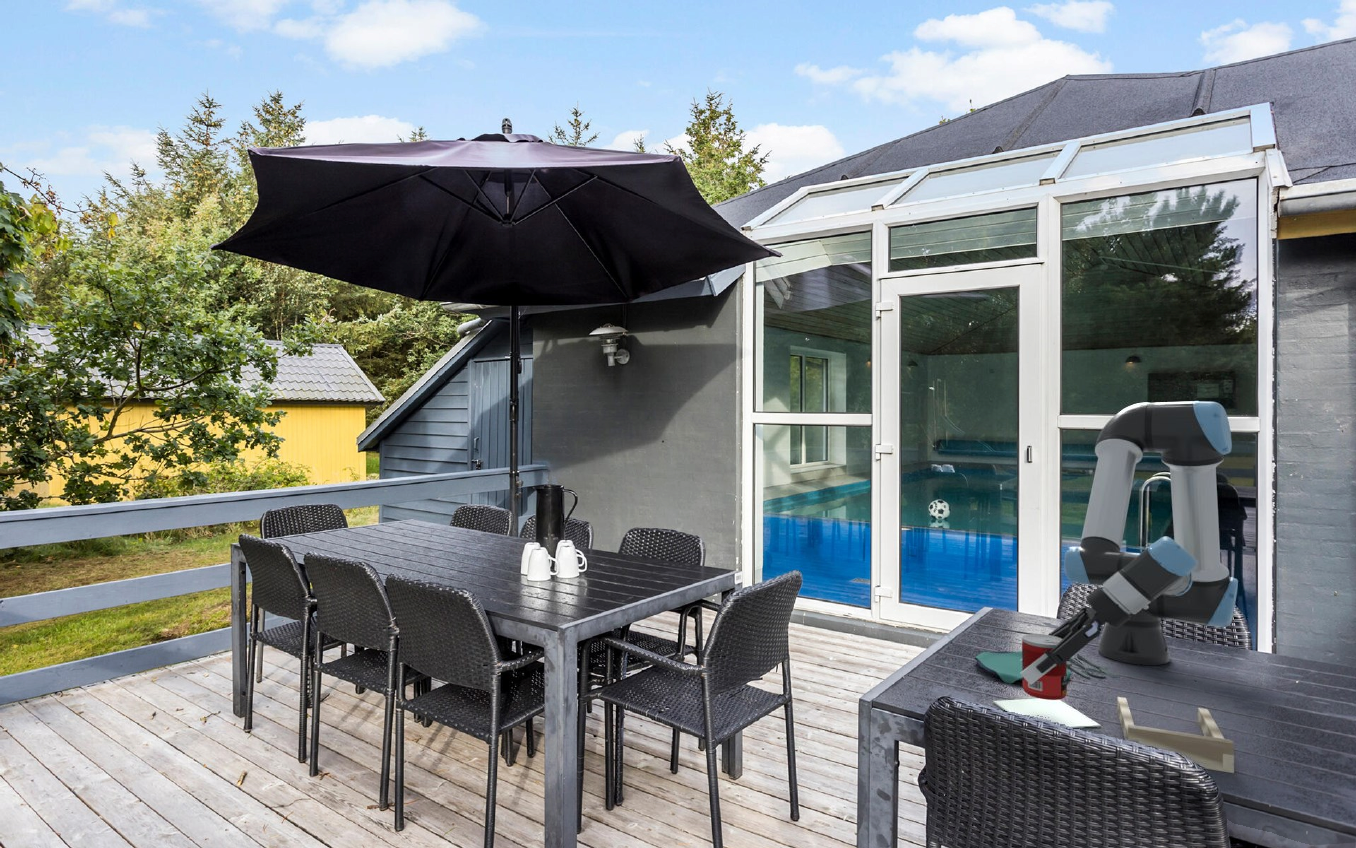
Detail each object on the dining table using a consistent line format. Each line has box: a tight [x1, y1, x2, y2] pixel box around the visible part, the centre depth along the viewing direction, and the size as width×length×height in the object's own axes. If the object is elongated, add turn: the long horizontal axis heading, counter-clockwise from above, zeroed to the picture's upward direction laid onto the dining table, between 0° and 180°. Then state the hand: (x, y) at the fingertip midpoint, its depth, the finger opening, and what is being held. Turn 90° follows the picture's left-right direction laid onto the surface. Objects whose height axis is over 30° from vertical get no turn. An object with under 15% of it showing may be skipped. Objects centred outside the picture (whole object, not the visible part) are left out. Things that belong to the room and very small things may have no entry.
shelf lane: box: [1116, 696, 1235, 774], centre depth 134 cm, size 22×15×5 cm
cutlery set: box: [974, 650, 1120, 685], centre depth 171 cm, size 20×30×2 cm, turn 93°
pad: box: [993, 698, 1101, 729], centre depth 146 cm, size 14×14×1 cm
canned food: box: [1021, 633, 1068, 700], centre depth 146 cm, size 8×8×11 cm
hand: (1025, 672), depth 147 cm, fingers closed on canned food, 8 cm apart
